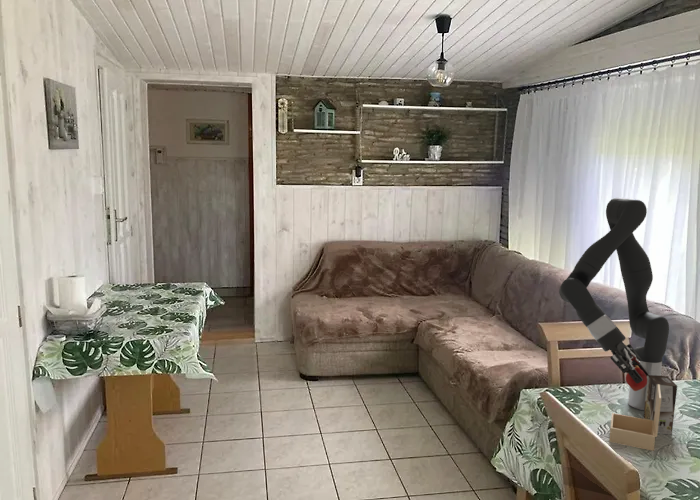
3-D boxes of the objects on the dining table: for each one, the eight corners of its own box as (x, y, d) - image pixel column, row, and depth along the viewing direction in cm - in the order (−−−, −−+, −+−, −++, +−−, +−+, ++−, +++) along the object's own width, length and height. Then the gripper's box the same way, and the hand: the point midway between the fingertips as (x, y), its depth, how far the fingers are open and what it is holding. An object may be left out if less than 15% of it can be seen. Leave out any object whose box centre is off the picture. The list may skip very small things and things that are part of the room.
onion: (644, 388, 178) (647, 364, 177) (647, 395, 173) (650, 370, 172) (623, 385, 180) (626, 361, 179) (625, 392, 175) (628, 367, 173)
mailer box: (610, 426, 187) (615, 377, 184) (654, 434, 181) (659, 384, 179) (609, 441, 176) (614, 390, 173) (655, 451, 170) (661, 398, 168)
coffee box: (672, 435, 181) (678, 386, 179) (650, 432, 182) (655, 384, 180) (663, 422, 190) (668, 375, 187) (642, 420, 191) (646, 373, 189)
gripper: (608, 331, 173) (647, 379, 167) (622, 321, 184) (659, 367, 178) (588, 344, 177) (625, 391, 171) (603, 334, 188) (639, 378, 182)
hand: (643, 379), depth 175 cm, fingers closed on onion, 5 cm apart
